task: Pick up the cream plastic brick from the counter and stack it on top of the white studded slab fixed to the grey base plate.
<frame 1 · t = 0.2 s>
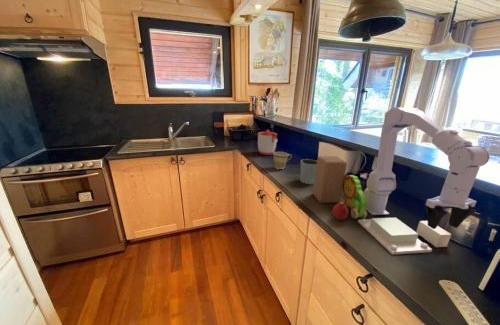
hand: (442, 226, 66), 9 cm above the countertop, tool pointing down, fingers open, 7 cm apart
grey cylindrical container: (307, 181, 122), on the countertop
ceramic cup: (281, 168, 143), on the countertop
toy lion: (349, 210, 93), on the countertop
cream brick: (430, 239, 75), on the countertop
onion: (338, 220, 85), on the countertop
citrus juicer: (267, 154, 175), on the countertop
block: (325, 198, 102), on the countertop
white studded slab: (391, 235, 76), on the countertop
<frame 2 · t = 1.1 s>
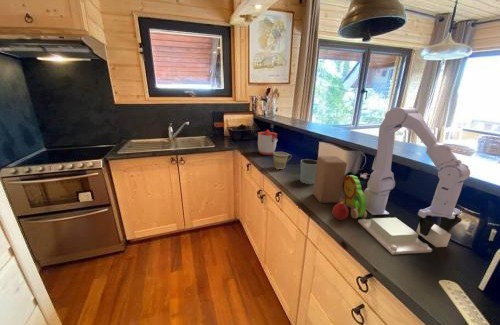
hand: (432, 233, 74), 2 cm above the countertop, tool pointing down, fingers open, 7 cm apart
nothing on the countertop moved.
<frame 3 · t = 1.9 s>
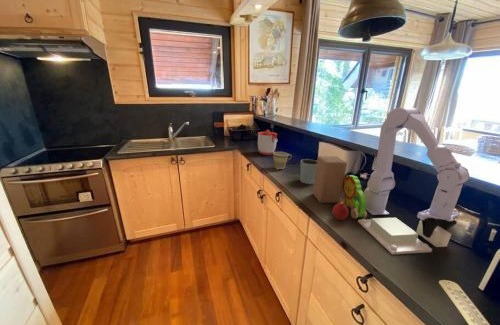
hand: (431, 235, 75), 1 cm above the countertop, tool pointing down, fingers closed on cream brick, 4 cm apart
cream brick: (430, 239, 75), on the countertop, touching gripper
everything else where it was.
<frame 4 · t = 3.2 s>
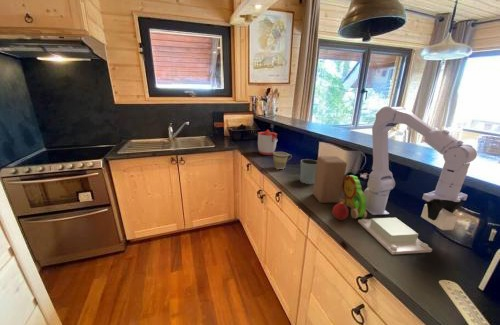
hand: (437, 218, 73), 8 cm above the countertop, tool pointing down, fingers closed on cream brick, 4 cm apart
cream brick: (436, 222, 73), point 7 cm above the countertop, touching gripper
everything else where it was.
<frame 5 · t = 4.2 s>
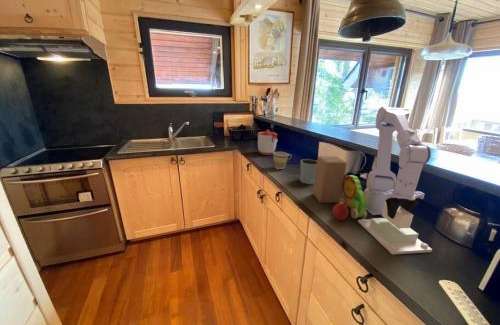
hand: (396, 216, 74), 8 cm above the countertop, tool pointing down, fingers closed on cream brick, 4 cm apart
cream brick: (395, 221, 75), point 6 cm above the countertop, touching gripper
everything else where it was.
when the fingers open (7 cm above the countertop, at t = 4.7 s): cream brick stays where it is, resting on white studded slab.
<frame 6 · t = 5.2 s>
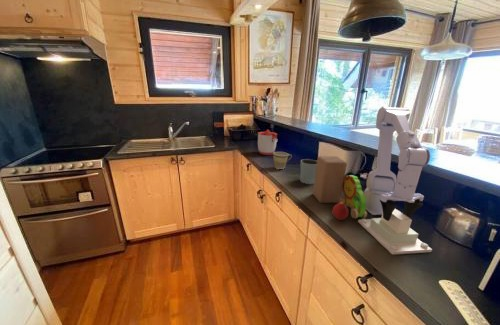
hand: (395, 218, 74), 7 cm above the countertop, tool pointing down, fingers open, 7 cm apart
cream brick: (393, 225, 75), point 4 cm above the countertop, touching white studded slab
everything else where it was.
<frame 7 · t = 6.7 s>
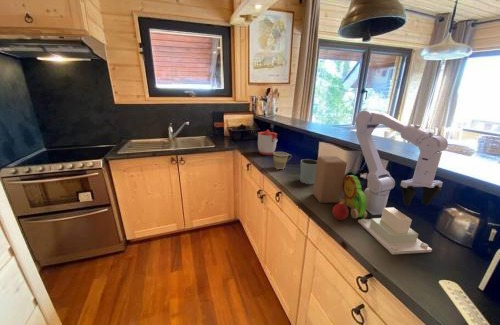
hand: (415, 204, 79), 10 cm above the countertop, tool pointing down, fingers open, 7 cm apart
nothing on the countertop moved.
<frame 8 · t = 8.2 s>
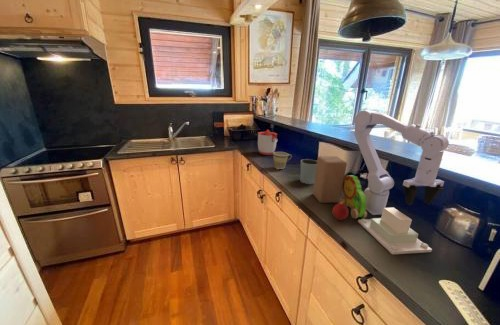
hand: (417, 203, 79), 10 cm above the countertop, tool pointing down, fingers open, 7 cm apart
nothing on the countertop moved.
at the end: cream brick 0.0 cm off-centre on the white studded slab, point 4.0 cm above the white studded slab's base; cream brick tilted 0°; the gripper is holding nothing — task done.
